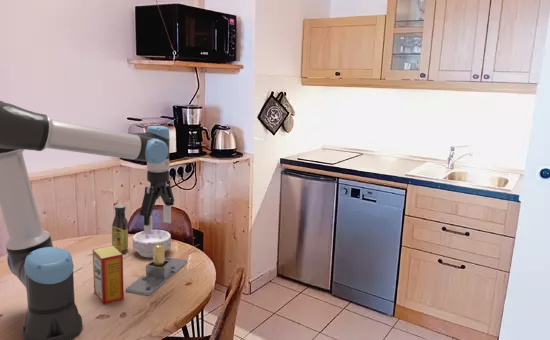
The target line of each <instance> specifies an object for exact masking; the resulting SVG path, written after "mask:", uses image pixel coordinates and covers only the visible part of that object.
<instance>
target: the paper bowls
mask: <svg viewBox="0 0 550 340" xmlns="http://www.w3.org/2000/svg"><path fill="white" fill-rule="evenodd" d="M171 237H172V236H171V233H170V232H169V231H166V230H162V229H152V234H145V233H144V230H142V231H140V232H136V233H135V234H134V235H133V236H132V250H133V251H135V252H137V253H138V254H139V255H140V256H141V257H144V258H147V259H148V258H152V259H153V245H154V244H158V243H161V244H164V254H165V253H166V251H168V250H169V249H170V248H172V238H171Z"/></svg>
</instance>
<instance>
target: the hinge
mask: <svg viewBox="0 0 550 340" xmlns="http://www.w3.org/2000/svg"><path fill="white" fill-rule="evenodd" d="M188 261H189V260H187V259H184V258H183V259H182V258H177V257H176V258H175V257H171V256H168V257H165V266H163V267H156V266H153V259H151V261H150V262H147V264H146V265H145V275H142V276H141V277H139V278H138V279H137V280H135V281H134V282H133V283H132V284H130V285H129V286H128V287H126V288H125V292H126V293H129V294H130V293H131V294H136V295H141V296H147V297H149V296H150V297H151V296H152V294H153V293H155V292H156V291H157V290H158V289H159V288H160V287H162V286H163V285H164V284H165V283H166V280H167V279H168V278H169V277H171V275H172V274H175V275H176V273H177V272H178V271H180V270H179V269H182V268H183V267H184V266H185V265H187V263H188Z"/></svg>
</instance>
